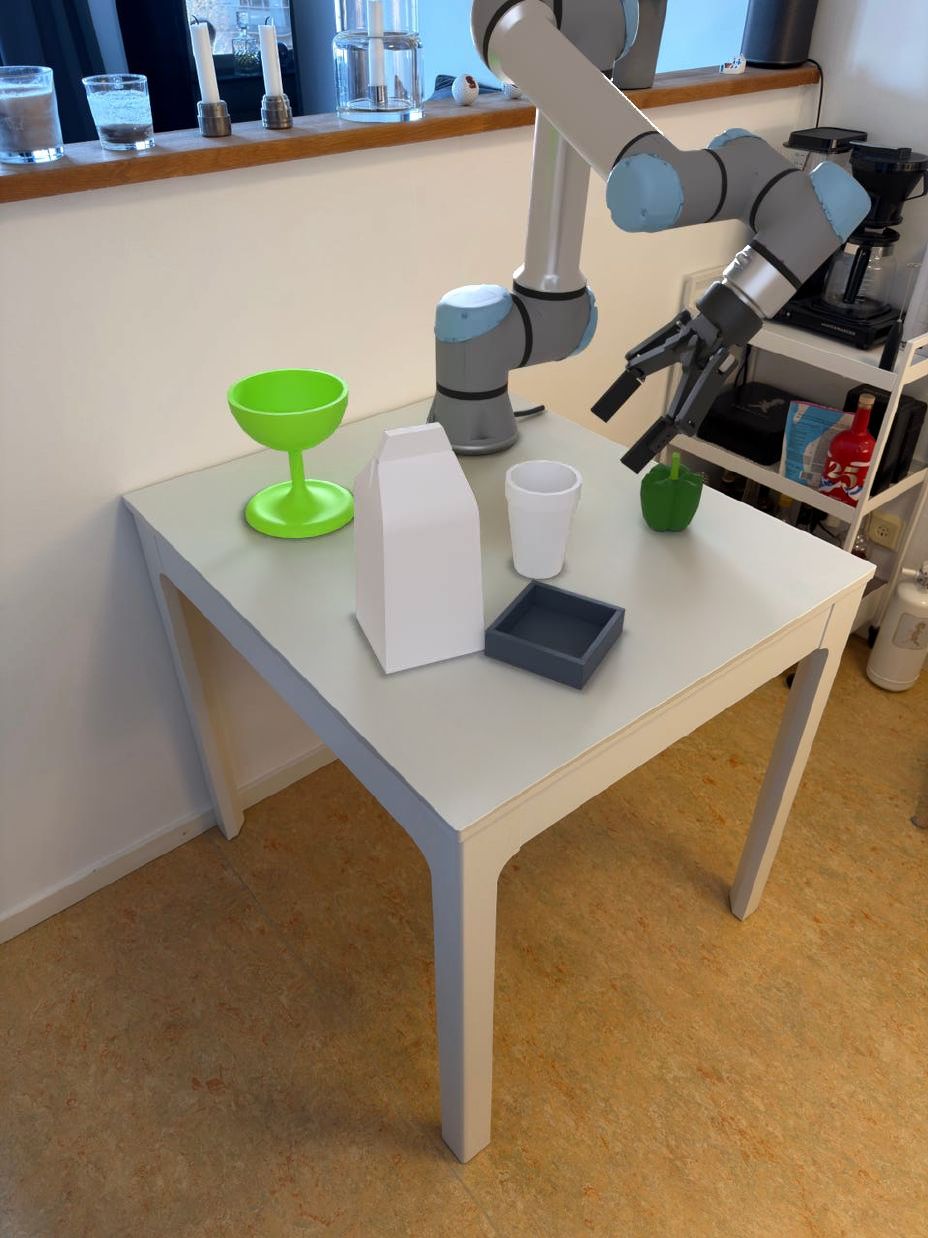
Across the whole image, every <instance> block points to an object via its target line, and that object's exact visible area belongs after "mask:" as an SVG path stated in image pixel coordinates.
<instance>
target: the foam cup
mask: <svg viewBox="0 0 928 1238" xmlns="http://www.w3.org/2000/svg"><path fill="white" fill-rule="evenodd" d="M582 485H583V480H582V473H580V471H578V470H577V469H576V468H575V467H574V466H572V465H569V464H566V463H563V462H561V461H557V460H549V459H536V460H535V459H534V460H526V461H525V460H524V461H522V462H519V463H516V464H514V465H512V466H511V467H510V468H509V469H508V470H507V471H505V492H504V493H505V498H506V500H507V511H508V521H509V530H510V539H511V550H512V559H513V560H512V561H513V567H514V570H516V572H517V573H518V574H519V575H522V576H523V577H526V578H530V579H534V580H542V579H543V580H544V579H550V578H552V577H555V576H557V575H559V573H560V572H561V571H562V569H563V565H564V562H565V557H566V553H567V549H568V545H569V541H570V536H571V533H572V529H573V524H574V520H575V516H576V513H577V507H578V503H579V501H581V495H582V488H583V487H582Z"/></svg>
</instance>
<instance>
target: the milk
mask: <svg viewBox="0 0 928 1238" xmlns="http://www.w3.org/2000/svg"><path fill="white" fill-rule="evenodd" d="M456 455H457V454H455V453H454V452H453V451H452V447H451V444H450V442H449V440H448V437H447V435H446V433H445V431H444V428H443V427H442V426H441V425H440V423H439V422H436V423H430V424H426V423H424V424H417V425H414V426H412V425H411V426H406V427H399V428H392V429H388V430H384V431H383V433H382V435H381V438H380V441H379V442H378V445H377V447H376V450H375V453H374V457H373V458H371V459H370V461H368V462H367V464H366V465H365V466H364V467H363V468H362V469H361V470H360V472H358V474H357V475H356V477H355V479H354V482H353V497H354V517H353V523H354V524H353V528H354V529H353V531H354V534H353V535H354V576H355V577H354V578H355V579H354V580H355V584H354V585H355V618H356V620H357V622H358V624H359V626H360V628H361V629H362V631H363V633H364V635H365V637H366V639H367V641H368V643H369V645H370V646H371V649H372V650H373V652H374V654H375V656H376V658H377V659H378V662H379V664H380V665H381V667H382V669H383V671H384V673H385V675H389V674H393V673H398V672H401V671H405V670H409V669H413V668H417V667H421V666H425V665H429V664H433V663H436V662H440V661H441V662H442V661H444V660H445V661H446V660H448V659H452V658H457V657H460V656H465V655H468V654H472V653H476V652H480V651H485V620H484V619H485V618H484V617H485V616H484V593H483V573H482V572H483V570H482V569H483V568H482V548H481V527H480V526H481V524H480V523H481V522H480V511H479V507H478V503H477V500H476V497H475V494H474V493H473V490H472V488H471V486H470V484H469V481H468V479H467V477H466V475H465V472H464V471H463V468H462V466H461V464H460V462H459V460H458V458H457V456H456Z"/></svg>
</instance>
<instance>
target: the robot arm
mask: <svg viewBox="0 0 928 1238" xmlns="http://www.w3.org/2000/svg"><path fill="white" fill-rule="evenodd" d="M639 9H640V7H639V0H472V2H471V5H470V13H469V28H470V35H471V40H472V44H473V46H474V48H475V51H476V54H477V55H478V57H479V58H480V60H481V61H482V63H483V64H484V65H485V67H486V68H487V69H488V70H489V72H490V73H492V75H493V76H494V77H495V78H496V79H497V80H499V82H501V83H503V84H507V85H515V86H516V87H517V89H519V91H520V92H521V93H522V94H523V95H524V96H525V97H526V98H527V99H528V100H529V101H530V102H531V104H532V105H533V106H534V107H535V108H536V112H535V121H534V122H535V124H534V135H533V148H532V161H531V173H530V185H529V186H530V187H529V197H528V210H527V224H526V234H525V235H526V236H525V248H524V261H523V264H522V265H521V266H520V267H519V268H517V270H515V271H514V273H513V277H512V290H511V291H510V290H509V289H507V288H506V287H505V286H502V285H499V284H495V283H494V284H493V283H484V284H481V285H480V284H478V283H477V284H469V285H465V286H460V287H458V288H455V289H452V290H451V291H449V292H447V293H446V294H444V295H443V296H442V297H441V298H440V300H439V301H438V303H437V305H436V308H435V316H434V317H435V318H434V325H433V333H434V338H435V339H434V341H435V345H434V346H435V393H434V397H433V400H432V403H431V406H430V409H429V412H428V415H427V418H426V422H425V424H430V423H436V422H439V423H440V425H441V426H442V427H443V428H444V431H445V433H446V435H447V437H448V440H449V442H450V444H451V447H452V451H453V452H454V453H455V455H460V456H484V455H485V456H486V455H491V454H495V453H499V452H502V451H504V450H506V449H508V448H510V447H512V446H513V445H514V444H515V443H516V441H517V438H518V425H517V424H518V423H517V419H516V418H519V417H526V416H527V417H528V416H532V415H535V414H538V413H541V412H543V411H545V410H546V406H545V405H544V404H540V405H538V406H535V407H533V408H530V409H525V410H516V411H514V409H513V406H512V402H511V399H510V396H509V375H510V373H509V372H510V371H513V370H518V369H522V368H528V367H532V366H536V365H542V364H546V363H552V362H555V363H557V362H562V361H564V360H566V359H568V358H571V357H575V356H577V355H580V354H581V353H582V352H584V351H585V350H586V349H587V348H588V347H589V346H590V344H591V342H592V340H593V339H594V336H595V334H596V331H597V327H598V321H599V309H598V305H595V303H596V301H597V299H596V296H595V294H594V292H593V290H592V289H591V288H590V286H588V285H587V284H588V278H587V276H586V275H585V273H583V272H582V270H581V269H580V263H581V255H582V247H583V246H582V245H583V238H584V237H583V236H584V228H585V220H586V212H587V202H588V195H589V186H590V177H591V169H593V170H594V171H595V173H596V174H597V175H598V176H599V177H600V178H601V179H602V180H603V182H605V184H606V188H605V202H606V207H607V209H609V211H610V219H611V220H612V222H613V223H614V225H615V226H616V227H617V228H618V229H620V230H621V231H623V232H626V233H629V234H630V233H631V234H634V233H635V234H636V233H648V234H654V233H660V232H663V231H668V230H674V229H679V228H685V227H691V226H696V225H697V226H698V225H703V224H710V223H718V222H725V221H730V220H738V221H740V222H742V224H744V225H745V226H746V227H747V228H748V229H749V230H751V231H752V232H754V233H755V235H754V237H752V239H751V240H750V242H748V243H747V246H746V247H744V249H743V250H741V251H740V252H738V253H737V254H736V255H735V258H734V260H733V261H732V262H731V263H730V264H729V265H728V266H727V267H726V269H725V270H724V271H722V277H723V278H724V279H723V280H722V282H721V281H720V280H716V281H715V280H714V281H713V282H712V284H710V286H709V287H708V288H707V289H706V290H705V291H704V292H703V294H702V295H701V296H700V297H699V298H697V300H696V302H695V308H696V309H697V311H698V312H699V314H698V315H696V316H694V314H693V313H691V312H690V311H689V310H688V309H687V308H683V309H681V311H679V312H678V314H676V316H675V317H673V318H672V320H671V321H669V322H667V324H665V325H663V326H662V327H660V328H659V329H658V330H656V331H655V332H654V333H653V334H651V335H650V336H648V337H646V338H645V339H644V340H643V341H641V342H639V343H638V344H637V345H636V346H634V347H633V348H631V349H630V350H629V351H627V352H626V353H625V355H624V359H625V360H626V364H625V366H624V368H625V369H624V371H623V372H622V373H621V374H620V375H619V376H618V377H617V379H616V380H615V381H613V383H612V384H611V385H610V386H609V388H608V389H607V390H606V391H605V392H604V393H603V394H602V396H600V397H599V399H598V400H597V401H596V402H595V403H594V404H593V405H592V407H590V409H589V410H590V412H591V413H592V414H593V415H595V416H596V417H597V418H598V419H600V420H601V421H602V422H604V423H605V424H607V423H608V422H609V421H610V420H611V419H612V418H613V416H615V414H616V413H617V412H618V411H619V410H620V409H621V408H622V407H623V406H624V404H626V402H628V400H629V399H630V398H631V397H632V396H633V394H635V392H636V391H638V389H639V388H640V387H641V386H642V383H643V384H645V382H646V379H647V377H648V376H650V375H653V374H655V373H657V372H659V371H661V370H663V369H666V368H668V367H670V366H672V365H674V364H678V363H679V364H681V371H682V375H681V377H680V379H679V382H678V385H677V387H676V390H675V392H674V395H673V397H672V400H671V402H670V405H669V408H668V410H667V413H666V414H663V415H660V416H659V417H658V418H657V420H655V422H654V423H653V424H652V425H650V427H649V428H648V429H647V430H646V431H645V432H644V433H643V434H642V435H641V437H640V438H639V439H638V440H636V441H635V443H634V444H633V445H632V446H631V447H630V448H629V449H628V450H627V451H626V452H625V453H624V455H623V456H622V457H620V458H619V461H620V463H621V464H622V465H624V466H625V467H627V469H629V470H630V471H632V472H633V473H634V474H636V475H639V474H640V473H641V472H642V471H643V469H645V468H646V466H647V465H648V464H649V463H650V462H651V461H652V460H653V459H654V458H655V457H656V456H657V455H658V454H660V453H661V452H662V451H663V450H664V448H666V447H667V446H668V445H669V444H670V443H671V441H673V439H675V438H676V437H677V435H685V436H686V437H688V438H692V437H694V436H695V435H696V433H697V431H698V430H699V428H700V427H701V424H702V423H703V421H704V420H705V417H706V415H707V414H708V413H709V411H710V409H711V407H712V405H713V404H714V402H715V400H716V398H717V397H718V395H719V393H720V392H721V389H722V388H723V386H724V384H725V383H726V380H727V379H728V378H729V377H730V376H731V374H732V373H734V371H735V370H736V368H737V367H738V366H739V364H740V361H739V359H738V358H737V357H735V356H734V355H733V354H732V353H731V352H730V351H729V350H730V348H732V347H733V345H735V346H736V347H737V348H744V347H745V346H747V344H748V343H750V341H751V340H752V339H753V338H754V337H755V336H756V335H757V334H758V332H760V331H761V329H762V328H763V327H764V326H763V325H764V322H763V320H764V319H765V318H767V319H773V317H775V315H776V314H777V313H778V312H779V311H780V310H781V309H782V308H783V307H784V306H785V304H787V303H788V302H789V300H790V299H792V297H793V296H794V295H795V294H796V293H797V291H798V290H799V289H800V288H801V287H802V285H803V284H804V283H805V282H806V281H807V280H808V279H809V278H810V277H811V276H812V275H813V274H814V273H815V272H816V271H817V270H818V269H819V268H820V267H821V265H822V264H824V263H825V262H826V260H827V259H828V258H829V257H830V256H832V255H833V253H835V251H836V250H838V248H840V246H842V245H844V244H845V243H846V242H847V241H848V238H849V237H850V235H852V233H853V232H854V231H855V230H856V229H857V228H858V226H859V225H860V224H862V221H863V220H864V219H865V218H866V217H867V216H868V214H869V212H870V211H871V207H872V201H871V197H870V196H869V194H868V192H867V191H866V189H865V188H864V187H863V186H862V185H861V183H859V181H858V180H857V179H856V178H854V176H852V174H850V173H849V172H848V171H847V170H846V169H845V168H844V167H842V166H840V165H839V164H837V163H834V162H833V161H831V160H825V161H822V162H820V164H819V165H817V166H816V168H814V169H812V170H811V171H810V172H809V173H808V172H806V171H803V170H802V169H801V168H800V167H798V166H797V165H796V164H794V163H793V162H792V161H790V160H789V159H788V158H787V157H785V156H784V155H783V154H782V153H781V152H779V151H778V150H776V149H775V148H774V147H773V146H771V145H770V143H768V141H767V140H766V139H763V138H762V137H761V136H759V135H756V134H754V133H753V132H751V131H750V130H748V129H746V128H743V127H731V128H728V129H726V130H725V131H724V132H723V133H722V134H720V135H716V136H715V137H714V138H712V140H711V141H710V142H709V143H708V144H707V146H706V147H705V148H698V149H688V150H683V149H680V148H678V147H677V145H675V144H674V143H673V141H671V140H670V139H669V138H668V137H667V136H665V135H664V133H663V132H662V131H660V129H659V128H658V127H657V126H655V125H654V123H652V121H650V119H648V117H647V116H646V115H644V114H643V112H642V111H641V110H640V109H638V107H636V105H634V103H633V102H631V100H630V99H628V97H627V96H625V95H624V93H623V92H621V90H620V89H618V88H617V86H616V85H614V84H613V83H612V81H613V79H614V78H613V77H614V70H615V63H616V62H618V61H620V60H621V59H622V58H624V57H625V56H626V55H627V54H628V53H629V52H630V48H631V47H632V46H633V45H634V43H635V40H636V37H637V33H638V28H639V21H640V19H639V17H640V11H639Z"/></svg>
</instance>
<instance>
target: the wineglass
mask: <svg viewBox="0 0 928 1238" xmlns="http://www.w3.org/2000/svg"><path fill="white" fill-rule="evenodd" d="M349 393H350V389H349V385H348V382H347V381H346V380H345V379H343V378H342V377H341V376H340V375H336V374H334V373H331V372H330V371H329V372H328V371H324V370H321V369H315V368H314V369H313V368H303V367H297V368H296V367H290V368H289V367H288V368H276V369H270V370H264V371H259V372H257V373H253V374H250V375H247V376H245V377H242V378H241V379H238V380H236V381H235V382H234V383H233V384H231V385H230V386H229V388H228V389H227V391H226V399H227V403H228V406H229V409H230V413H231V415H232V416H233V418H234V420H235V421H236V423H237V424H238V426H239V427H240V428H241V430H242V431H243V432H244V433H245V434H246V435H247V436H249V438H251V439H252V440H253V441H254V442H256V443H258V444H259V445H262V446H265V447H266V448H269V449H272V450H274V451H279V452H286V453H287V454H288V464H289V472H290V480H288V481H283V482H278V483H276V484H273V485H270V486H267V487H265V488H263V489H262V490H261V491H259V492H257V493H256V494H255V495H254V496H253V497H252V498H251V499H250V500H249V502H248V504H247V506H246V508H245V520H246V521H247V524H249V526H250V527H251V528H253V529H255V530H256V531H257V532H260V533H262V534H264V535H267V536H271V537H276V538H283V539H304V538H313V537H319V536H322V535H326V534H329V533H332V532H334V531H337V530H339V529H341V528H342V527H344V526H345V525H347V524H349V523H350V522H351V521H352V519H354V495H352V494H351V493H350V491H349V490H348V489H346V488H344V487H342V486H340V485H339V484H336V483H333V482H331V481H326V480H321V479H320V480H319V479H306V475H305V467H304V458H303V451H306V450H309V449H312V448H315V447H317V446H318V445H320V444H321V443H323V442H324V441H326V440H327V439H329V438H330V437H331V436H332V435H333V434H334V432H335V431H336V430H337V429H338V427H339V426H340V425H341V423H342V421H343V418H344V415H345V413H346V410H347V408H348V405H349Z"/></svg>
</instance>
